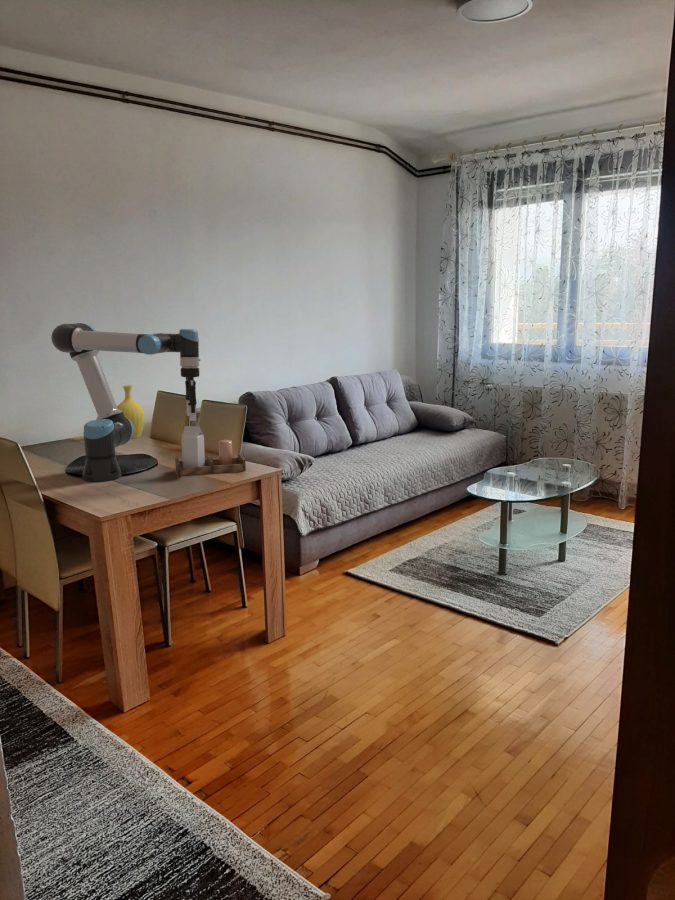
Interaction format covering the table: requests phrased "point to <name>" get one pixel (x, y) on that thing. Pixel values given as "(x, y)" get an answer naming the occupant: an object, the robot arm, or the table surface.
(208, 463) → the rack
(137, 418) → the vase
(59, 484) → the table surface
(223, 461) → the canister
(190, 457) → the milk carton
